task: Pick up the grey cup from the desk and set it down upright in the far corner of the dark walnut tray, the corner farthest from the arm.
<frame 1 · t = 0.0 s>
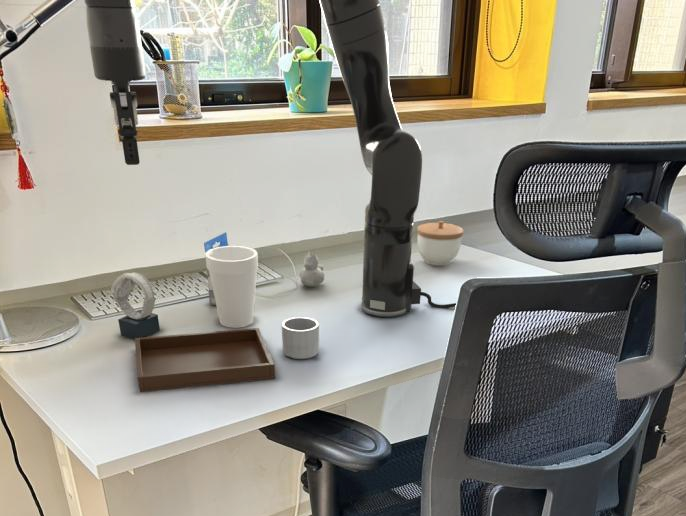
hand: (132, 159, 116), 29 cm above the table, tool pointing down, fingers open, 8 cm apart
ring sculpture on stand: (140, 334, 130), on the table
trinket box: (437, 262, 170), on the table
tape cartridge: (228, 300, 146), on the table
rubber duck: (312, 285, 154), on the table
foam cup: (236, 322, 136), on the table
tray: (204, 364, 120), on the table
grey cup: (300, 353, 125), on the table
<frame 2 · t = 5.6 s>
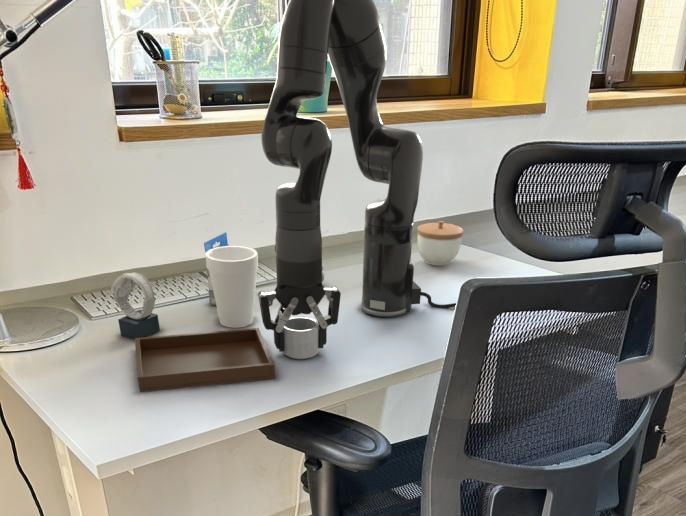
hand: (300, 348, 124), 1 cm above the table, tool pointing down, fingers closed on grey cup, 6 cm apart
grey cup: (300, 353, 125), on the table, touching gripper
everything else where it was.
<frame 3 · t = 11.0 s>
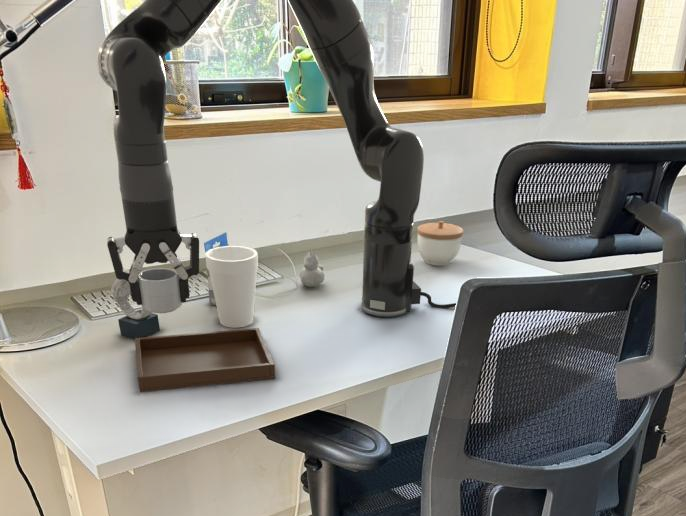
hand: (161, 301, 115), 11 cm above the table, tool pointing down, fingers closed on grey cup, 6 cm apart
grey cup: (162, 307, 115), point 10 cm above the table, touching gripper
everything else where it was.
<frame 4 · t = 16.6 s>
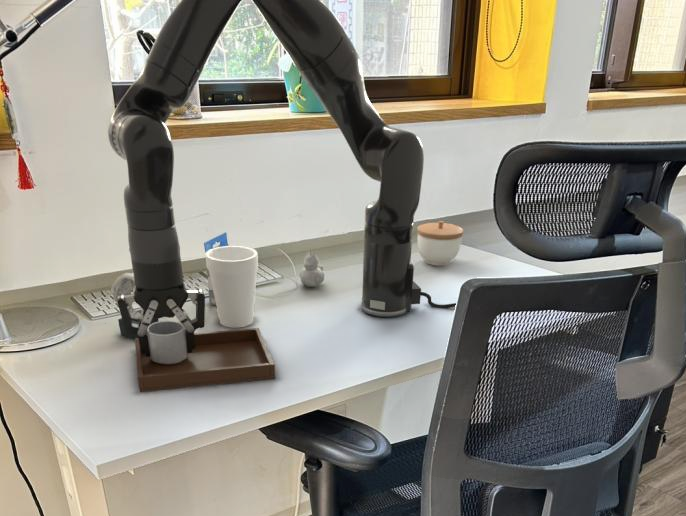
hand: (169, 352, 120), 2 cm above the table, tool pointing down, fingers closed on grey cup, 6 cm apart
grey cup: (169, 358, 120), point 1 cm above the table, touching gripper
everything else where it was.
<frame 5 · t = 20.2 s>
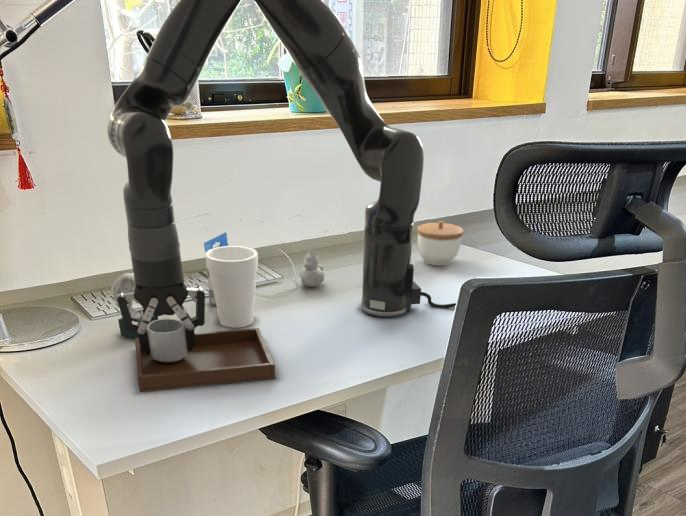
hand: (169, 350, 120), 2 cm above the table, tool pointing down, fingers closed on grey cup, 6 cm apart
grey cup: (169, 356, 120), point 1 cm above the table, touching gripper
everything else where it was.
when the fingers open (3 cm above the table, at t = 23.8 s): grey cup drops 1 cm, resting on tray.
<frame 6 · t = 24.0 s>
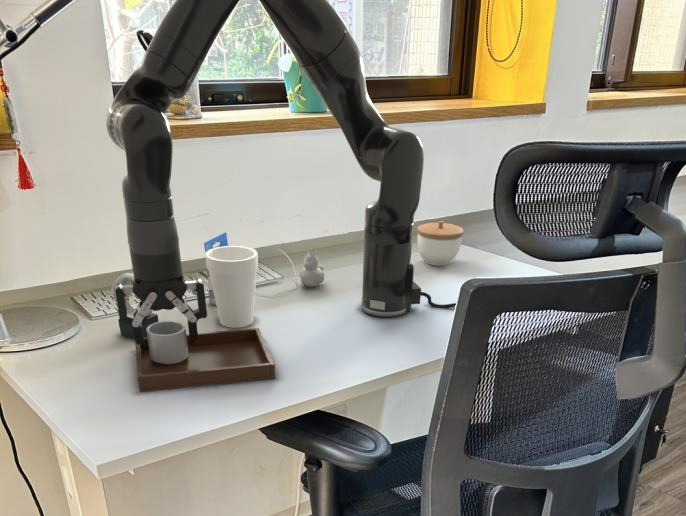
hand: (167, 343, 119), 3 cm above the table, tool pointing down, fingers open, 7 cm apart
grey cup: (170, 358, 120), point 1 cm above the table, touching tray
everything else where it was.
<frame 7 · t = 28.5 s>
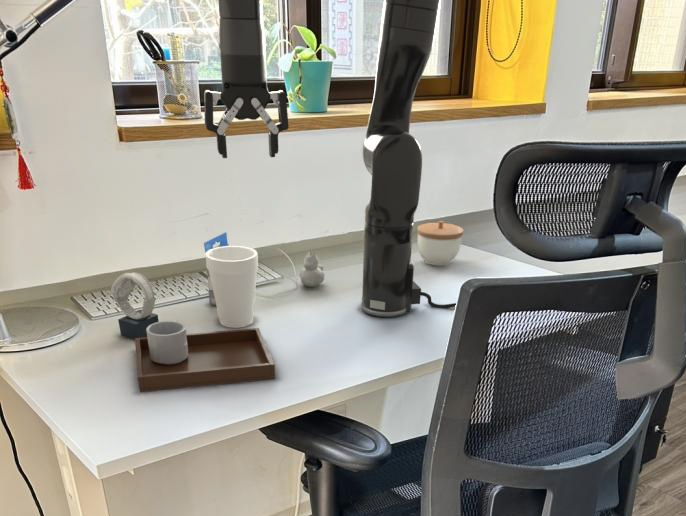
hand: (248, 156, 126), 28 cm above the table, tool pointing down, fingers open, 8 cm apart
nothing on the table moved.
at the end: grey cup inside the target area (0.6 cm from its centre), point 0.6 cm above the table; grey cup tilted 0°; the gripper is holding nothing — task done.
